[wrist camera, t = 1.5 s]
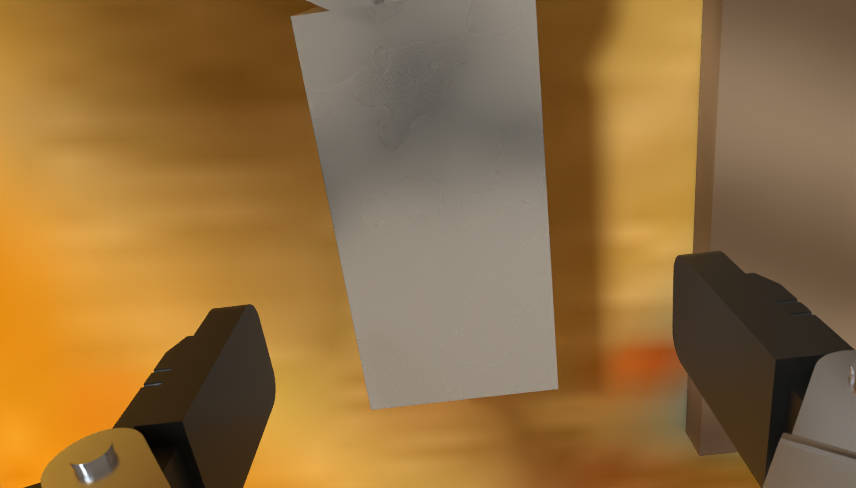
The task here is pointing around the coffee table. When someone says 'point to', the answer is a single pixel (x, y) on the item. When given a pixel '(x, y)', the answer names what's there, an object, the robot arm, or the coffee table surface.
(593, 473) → the coffee table surface
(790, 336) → the robot arm
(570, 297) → the coffee table surface
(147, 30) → the coffee table surface
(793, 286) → the hinge base
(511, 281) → the hinge leaf
